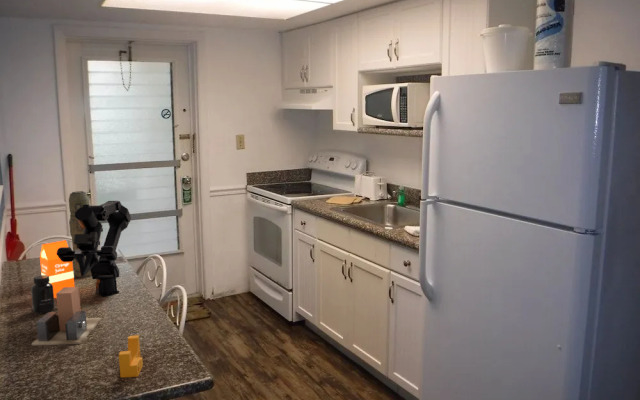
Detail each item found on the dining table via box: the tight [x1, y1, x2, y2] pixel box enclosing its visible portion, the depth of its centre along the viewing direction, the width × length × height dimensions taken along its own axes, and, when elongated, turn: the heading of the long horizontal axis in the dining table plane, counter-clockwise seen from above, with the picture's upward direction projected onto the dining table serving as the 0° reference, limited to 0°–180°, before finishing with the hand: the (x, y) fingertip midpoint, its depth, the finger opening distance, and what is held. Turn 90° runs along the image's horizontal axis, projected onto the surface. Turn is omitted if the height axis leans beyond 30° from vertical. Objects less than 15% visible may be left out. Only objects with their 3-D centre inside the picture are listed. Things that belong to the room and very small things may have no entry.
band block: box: [36, 310, 87, 341], centre depth 169 cm, size 8×13×6 cm, turn 93°
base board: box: [31, 317, 103, 346], centre depth 174 cm, size 19×14×1 cm
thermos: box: [68, 191, 92, 278], centre depth 232 cm, size 9×12×35 cm
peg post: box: [56, 286, 82, 331], centre depth 175 cm, size 6×4×12 cm
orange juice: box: [39, 239, 76, 299], centre depth 209 cm, size 8×9×20 cm
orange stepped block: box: [118, 334, 144, 378], centre depth 149 cm, size 12×4×6 cm, turn 6°
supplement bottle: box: [30, 275, 56, 314], centre depth 192 cm, size 7×7×12 cm
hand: (82, 276), depth 186 cm, fingers closed
